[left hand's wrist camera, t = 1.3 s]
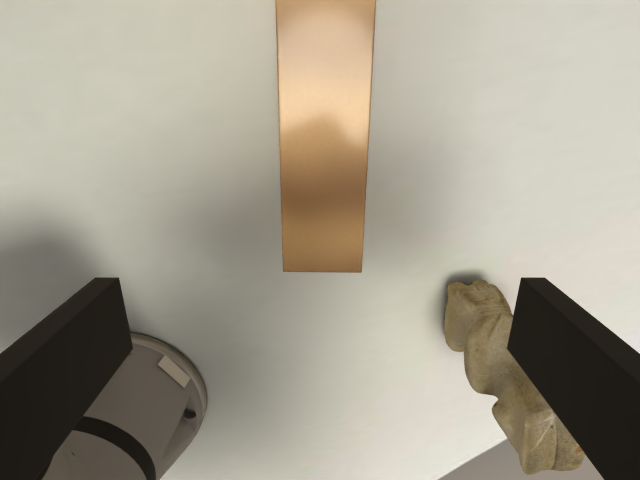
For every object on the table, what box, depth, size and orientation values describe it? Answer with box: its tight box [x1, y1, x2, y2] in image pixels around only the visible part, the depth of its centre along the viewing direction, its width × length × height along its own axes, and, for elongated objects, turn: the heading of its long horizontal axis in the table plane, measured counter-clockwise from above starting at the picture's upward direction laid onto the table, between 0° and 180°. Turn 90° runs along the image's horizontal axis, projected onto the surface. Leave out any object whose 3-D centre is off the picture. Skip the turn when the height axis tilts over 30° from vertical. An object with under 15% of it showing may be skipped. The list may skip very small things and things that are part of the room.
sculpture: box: [444, 280, 585, 475], centre depth 29 cm, size 6×7×15 cm
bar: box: [276, 0, 376, 273], centre depth 25 cm, size 27×5×8 cm, turn 179°
